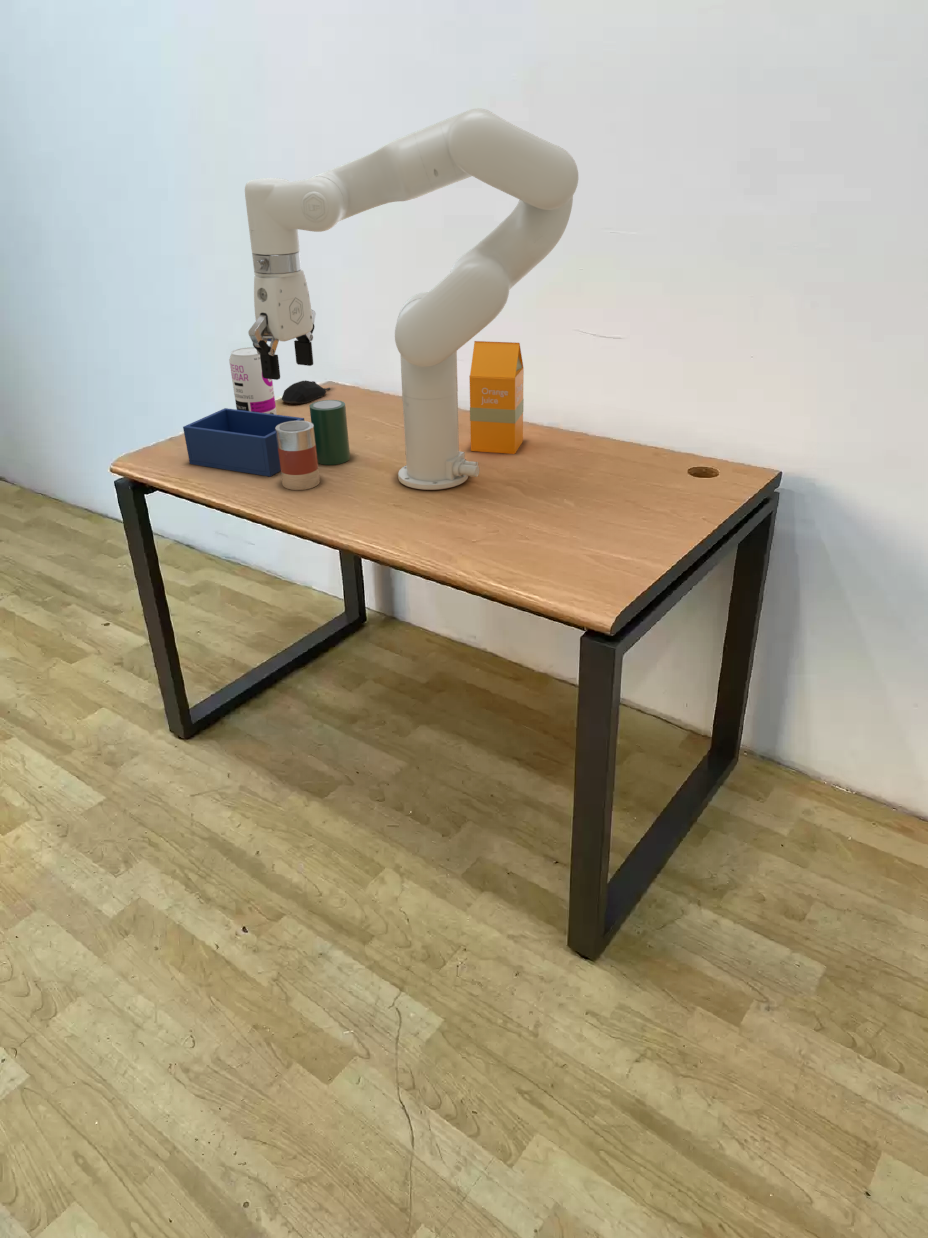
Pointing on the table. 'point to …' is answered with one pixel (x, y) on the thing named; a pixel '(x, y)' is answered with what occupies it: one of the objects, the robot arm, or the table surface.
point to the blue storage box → (236, 441)
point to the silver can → (297, 455)
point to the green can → (330, 431)
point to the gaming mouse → (303, 392)
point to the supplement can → (251, 382)
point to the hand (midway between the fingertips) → (288, 371)
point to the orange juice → (496, 397)
